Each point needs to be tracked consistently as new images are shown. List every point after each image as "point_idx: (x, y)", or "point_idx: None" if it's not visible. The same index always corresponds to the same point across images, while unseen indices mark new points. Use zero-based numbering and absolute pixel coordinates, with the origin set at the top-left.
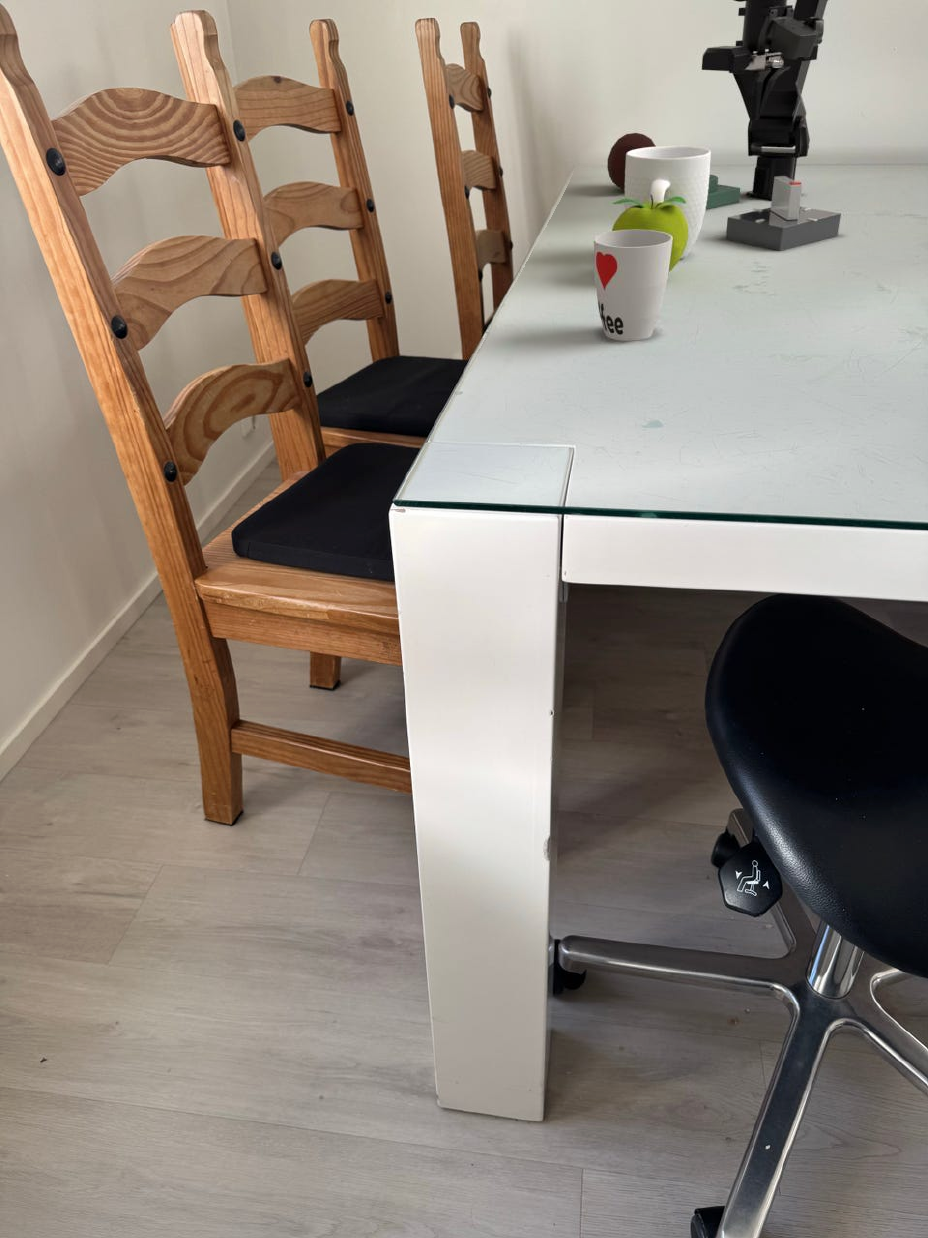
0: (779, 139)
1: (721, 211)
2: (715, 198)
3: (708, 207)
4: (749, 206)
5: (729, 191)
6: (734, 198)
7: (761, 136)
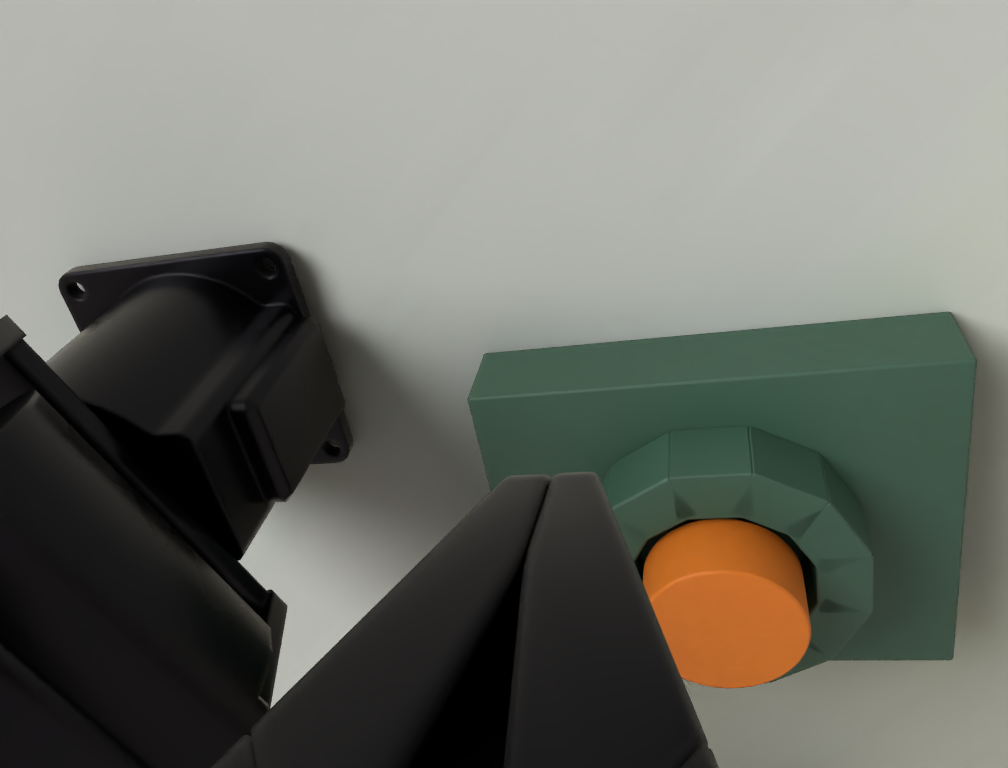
0: (97, 465)
1: (766, 209)
2: (710, 359)
3: (772, 329)
4: (512, 212)
5: (573, 384)
6: (525, 361)
7: (215, 599)
